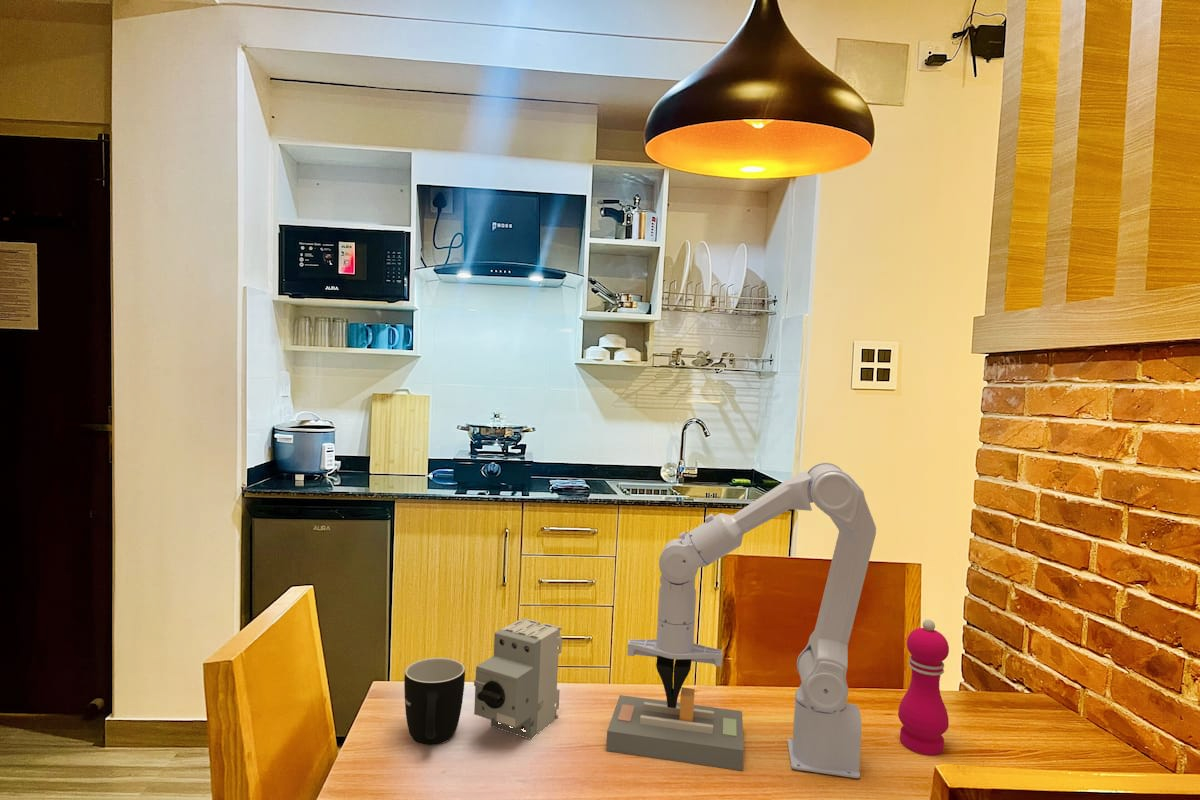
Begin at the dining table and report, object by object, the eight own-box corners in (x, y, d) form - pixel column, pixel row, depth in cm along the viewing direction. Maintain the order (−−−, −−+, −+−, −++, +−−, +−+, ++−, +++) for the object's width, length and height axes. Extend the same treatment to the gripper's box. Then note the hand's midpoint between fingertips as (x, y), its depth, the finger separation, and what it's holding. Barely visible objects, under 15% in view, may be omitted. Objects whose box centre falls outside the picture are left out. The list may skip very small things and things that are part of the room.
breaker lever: (693, 717, 107) (694, 688, 107) (692, 725, 104) (693, 696, 104) (680, 715, 108) (681, 687, 107) (679, 724, 105) (680, 695, 105)
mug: (405, 720, 108) (408, 657, 108) (463, 718, 110) (466, 656, 110) (396, 763, 97) (398, 693, 96) (460, 760, 98) (463, 691, 98)
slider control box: (741, 729, 110) (742, 705, 110) (742, 770, 99) (744, 743, 99) (619, 712, 114) (620, 689, 114) (606, 750, 102) (607, 724, 102)
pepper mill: (941, 737, 111) (949, 615, 110) (951, 761, 104) (960, 631, 103) (893, 729, 113) (900, 609, 112) (900, 752, 106) (908, 624, 105)
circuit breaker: (466, 743, 102) (470, 645, 102) (520, 705, 115) (524, 617, 115) (507, 758, 99) (511, 656, 99) (558, 717, 112) (562, 626, 111)
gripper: (724, 614, 109) (719, 699, 109) (633, 605, 111) (629, 687, 112) (723, 630, 102) (719, 720, 102) (627, 620, 104) (623, 707, 105)
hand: (672, 704), depth 106 cm, fingers closed
